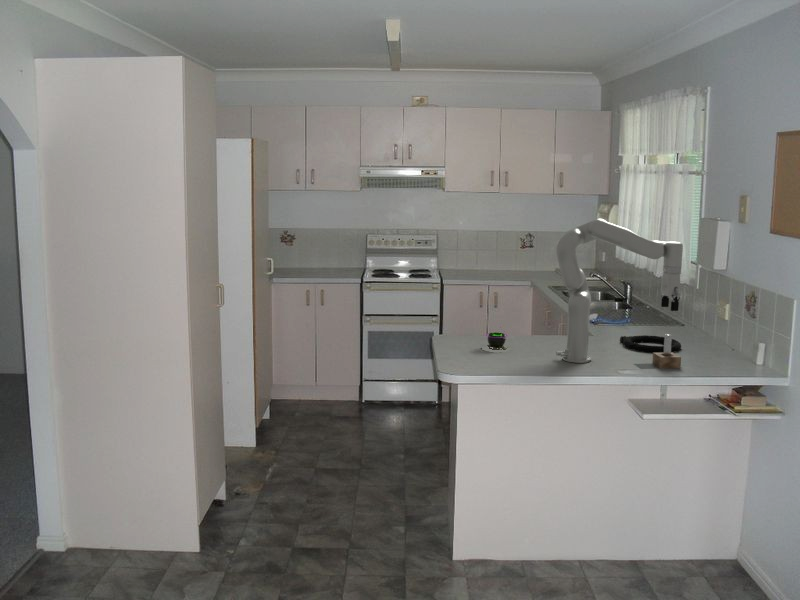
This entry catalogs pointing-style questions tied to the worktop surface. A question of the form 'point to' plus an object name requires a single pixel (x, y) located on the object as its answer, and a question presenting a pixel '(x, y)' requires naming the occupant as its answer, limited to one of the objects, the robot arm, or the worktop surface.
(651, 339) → the cable lock
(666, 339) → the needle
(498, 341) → the toy cauldron
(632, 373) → the worktop surface
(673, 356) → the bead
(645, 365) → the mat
